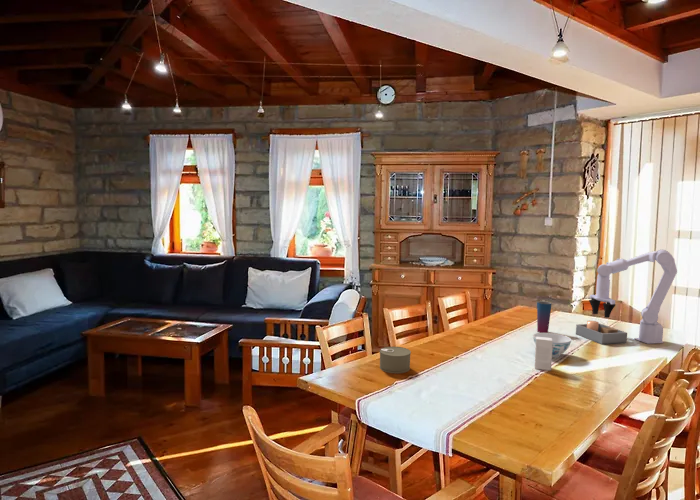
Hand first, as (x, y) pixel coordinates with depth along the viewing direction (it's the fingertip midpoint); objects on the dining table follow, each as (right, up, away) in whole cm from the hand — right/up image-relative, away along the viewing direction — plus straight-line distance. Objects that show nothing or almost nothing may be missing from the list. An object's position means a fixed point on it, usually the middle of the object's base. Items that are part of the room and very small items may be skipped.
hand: (601, 315), depth 236 cm
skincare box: (-49, -14, -49) cm, 71 cm away
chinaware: (-38, -13, -32) cm, 52 cm away
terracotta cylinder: (-6, -9, -3) cm, 12 cm away
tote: (-3, -10, -5) cm, 12 cm away
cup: (-27, -9, +5) cm, 29 cm away
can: (-107, -13, -52) cm, 120 cm away
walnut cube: (-1, -10, -8) cm, 13 cm away
